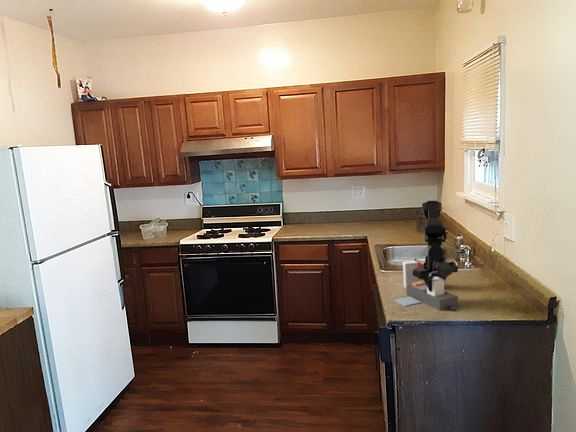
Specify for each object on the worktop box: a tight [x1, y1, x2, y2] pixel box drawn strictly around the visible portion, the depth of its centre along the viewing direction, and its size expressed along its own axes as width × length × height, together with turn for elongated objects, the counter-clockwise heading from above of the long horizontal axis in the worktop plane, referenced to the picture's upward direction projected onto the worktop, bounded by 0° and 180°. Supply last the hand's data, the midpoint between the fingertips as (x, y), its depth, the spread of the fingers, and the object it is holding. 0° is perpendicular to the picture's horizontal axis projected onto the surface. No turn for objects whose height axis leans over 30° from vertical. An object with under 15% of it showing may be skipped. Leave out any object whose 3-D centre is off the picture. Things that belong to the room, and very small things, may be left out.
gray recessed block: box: [406, 280, 459, 312], centre depth 185 cm, size 9×25×5 cm, turn 20°
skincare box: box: [402, 260, 419, 290], centre depth 205 cm, size 6×4×12 cm
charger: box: [427, 277, 445, 297], centre depth 183 cm, size 5×5×7 cm
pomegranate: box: [414, 257, 424, 269], centre depth 221 cm, size 10×10×9 cm
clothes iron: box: [411, 213, 426, 234], centre depth 327 cm, size 8×16×13 cm, turn 65°
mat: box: [393, 296, 422, 307], centre depth 187 cm, size 8×8×1 cm
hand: (435, 290), depth 184 cm, fingers closed on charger, 5 cm apart
